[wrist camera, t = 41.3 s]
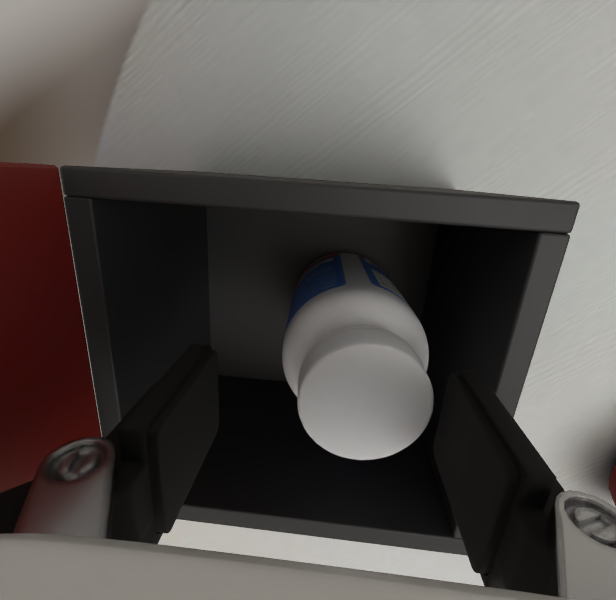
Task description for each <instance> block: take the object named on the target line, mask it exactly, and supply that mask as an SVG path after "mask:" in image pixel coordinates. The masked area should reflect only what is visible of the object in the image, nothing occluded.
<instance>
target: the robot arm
mask: <svg viewBox="0 0 616 600" xmlns="http://www.w3.org/2000/svg"><path fill="white" fill-rule="evenodd" d="M218 427H219V394H218V355H217V351H216V350H212V347H211V346H210V345H201V344H191V345H190V346H189V347H188V349H187V350H186V351H185V352H184V353H183V354H182V355H181V357H180V358H179V359H178V360H177V361H176V362H175V363H174V364H173V366H172V367H171V368H170V369H169V370H168V371H167V372H166V374H165V375H164V376H163V377H162V378H161V379H160V380H159V381H158V382H156V383H155V384H154V385H152V386H151V388H150V389H149V390H148V391H147V392H146V393H145V394H144V395H143V396H142V398H141V399H140V400H139V401H138V402H137V403H136V404H135V405H134V407H133V408H132V409H131V410H130V411H129V412H128V413H127V414H126V416H125V417H124V418H123V419H122V420H121V421H120V422H119V423H118V424H117V426H116V427H115V428H114V429H113V430H112V431H111V432H110V433H109V435H108V436H107V437H106V438H103V437H95V436H93V437H84V438H80V439H76V440H72V441H70V442H68V443H65V444H63V445H61V446H59V447H58V448H56V449H55V450H53V451H52V452H50V453H49V454H48V455H47V456H46V457H45V458H44V459H43V460H42V461H41V463H40V465H39V466H38V468H37V470H36V473H35V476H34V478H33V480H32V481H29V482H27V483H24V484H22V485H19V486H17V487H14V488H12V489H9V490H6V491H4V492H1V493H0V600H616V508H615V507H613V506H612V505H610V504H609V503H607V502H605V501H603V500H601V499H599V498H597V497H595V496H593V495H590V494H586V493H583V492H579V491H571V490H569V491H564V489H563V488H562V486H561V485H560V484H559V482H558V481H557V480H556V476H555V475H554V474H553V472H552V471H551V470H550V468H549V467H548V465H547V464H546V463H545V461H544V460H543V459H542V457H541V456H540V455H539V453H538V452H537V450H536V449H535V448H534V446H533V445H532V444H531V442H530V441H529V439H528V438H527V437H526V435H525V434H524V433H523V431H522V430H521V428H520V427H519V426H518V424H517V423H516V422H515V420H514V419H513V417H512V416H511V415H510V413H509V412H508V411H507V409H506V408H505V406H504V405H503V404H502V402H501V401H500V400H499V398H498V397H497V395H496V394H495V393H494V391H493V390H492V389H491V387H490V386H489V384H488V383H487V382H486V380H485V379H484V378H483V376H482V375H481V373H480V372H478V371H469V370H457V371H456V373H455V374H450V376H449V379H448V384H447V388H446V393H445V397H444V401H443V406H442V410H441V414H440V419H439V423H438V427H437V432H436V436H435V440H434V445H433V454H434V459H435V461H436V464H437V467H438V470H439V473H440V476H441V479H442V482H443V485H444V488H445V491H446V493H447V496H448V499H449V502H450V505H451V508H452V511H453V514H454V517H455V520H456V523H457V525H458V528H459V531H460V534H461V537H462V540H463V543H464V546H465V549H466V552H467V555H468V557H469V560H470V563H471V566H472V568H473V570H474V572H476V573H480V574H481V577H482V580H483V583H484V585H485V587H484V586H477V585H469V584H462V583H455V582H447V581H440V580H433V579H425V578H418V577H410V576H403V575H395V574H388V573H380V572H372V571H365V570H357V569H349V568H342V567H334V566H326V565H319V564H311V563H303V562H295V561H287V560H280V559H272V558H264V557H256V556H248V555H240V554H232V553H224V552H216V551H207V550H199V549H191V548H183V547H175V546H167V545H159V544H158V542H159V540H160V538H161V536H162V534H163V533H169V532H170V530H171V529H172V527H173V525H174V522H175V520H176V518H177V516H178V514H179V512H180V510H181V508H182V506H183V503H184V501H185V499H186V497H187V495H188V493H189V491H190V489H191V487H192V484H193V482H194V480H195V478H196V476H197V474H198V472H199V470H200V468H201V465H202V463H203V461H204V459H205V457H206V455H207V453H208V451H209V449H210V447H211V444H212V442H213V440H214V438H215V436H216V434H217V431H218Z"/></svg>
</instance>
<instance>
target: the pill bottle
mask: <svg viewBox="0 0 616 600" xmlns="http://www.w3.org/2000/svg"><path fill="white" fill-rule="evenodd" d="M428 360H429V349H428V342H427V338H426V334H425V332H424V329H423V327H422V325H421V323H420V321H419V320H418V318H417V316H416V315H415V313H414V312H413V310H412V309H411V307H410V306H409V305H408V303H407V302H406V300H405V299H404V298H403V296H402V295H401V294H400V292H399V291H398V290H397V288H396V287H395V285H394V284H393V283H392V281H391V280H390V279H389V277H388V276H387V275H386V273H385V272H384V271H383V270H382V269H381V268H380V267H379V266H378V265H377V264H376V263H374V262H373V261H371V260H369V259H368V258H366V257H363V256H361V255H357V254H353V253H334V254H330V255H327V256H324V257H322V258H320V259H318V260H317V261H315V262H314V263H312V264H311V265H310V266H309V267H308V268H307V269H306V270H305V271H304V272H303V274H302V275H301V277H300V278H299V280H298V282H297V284H296V287H295V290H294V294H293V298H292V303H291V308H290V312H289V317H288V321H287V326H286V331H285V335H284V341H283V349H282V363H283V369H284V373H285V377H286V379H287V382H288V384H289V386H290V388H291V389H292V391H293V392H294V394H295V395H296V396H297V407H298V413H299V417H300V420H301V422H302V424H303V427H304V429H305V430H306V432H307V433H308V435H309V436H310V437H311V438H312V439H313V440H314V441H315V442H316V443H317V444H318V445H320V446H321V447H322V448H324V449H325V450H327V451H329V452H330V453H333V454H335V455H338V456H341V457H345V458H349V459H356V460H372V459H379V458H383V457H387V456H390V455H393V454H395V453H397V452H399V451H401V450H403V449H404V448H406V447H408V446H409V445H410V444H412V443H413V442H414V441H415V440H416V439H417V438H418V437H419V436H420V435H421V434H422V432H423V431H424V430H425V428H426V427H427V425H428V423H429V420H430V418H431V415H432V412H433V405H434V395H433V389H432V385H431V382H430V379H429V377H428V375H427V373H426V371H427V367H428Z"/></svg>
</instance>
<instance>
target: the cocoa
mask: <svg viewBox="0 0 616 600" xmlns="http://www.w3.org/2000/svg"><path fill="white" fill-rule="evenodd" d="M609 490H610V493H611V496H612V499H613V501H614V503H615V505H616V464H615V465H614V466H613V468H612V471H611V474H610V477H609Z"/></svg>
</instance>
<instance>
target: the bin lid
mask: <svg viewBox="0 0 616 600" xmlns="http://www.w3.org/2000/svg"><path fill="white" fill-rule="evenodd" d="M93 436H95V437H101V431H100V425H99V419H98V412H97V406H96V400H95V394H94V388H93V381H92V375H91V369H90V363H89V357H88V350H87V344H86V338H85V332H84V326H83V319H82V314H81V307H80V301H79V295H78V288H77V283H76V276H75V270H74V264H73V257H72V251H71V246H70V239H69V233H68V226H67V220H66V214H65V208H64V202H63V195H62V190H61V183H60V177H59V171H58V168H57V167H56V166H54V165H43V164H28V163H7V162H0V493H1V492H4V491H6V490H9V489H12V488H14V487H17V486H19V485H22V484H24V483H27V482H29V481H32V480H33V478H34V476H35V473H36V470H37V468H38V466H39V465H40V463H41V461H42V460H43V459H44V458H45V457H46V456H47V455H48V454H49V453H50V452H52V451H53V450H55V449H56V448H58V447H59V446H61V445H63V444H65V443H68V442H70V441H72V440H76V439H80V438H84V437H93Z"/></svg>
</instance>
